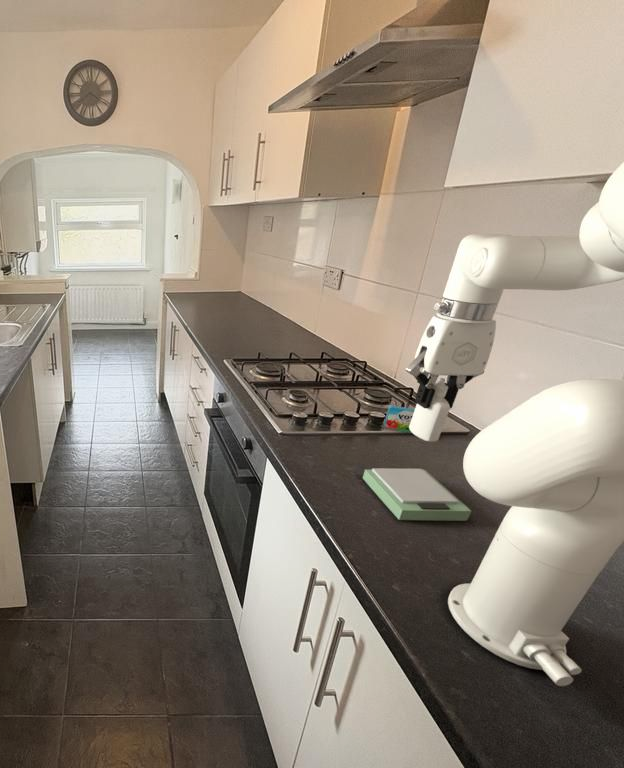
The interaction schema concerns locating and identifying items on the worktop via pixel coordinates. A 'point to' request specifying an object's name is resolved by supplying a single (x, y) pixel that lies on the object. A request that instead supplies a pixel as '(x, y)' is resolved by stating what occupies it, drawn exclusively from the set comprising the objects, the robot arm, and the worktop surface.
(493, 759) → the worktop surface
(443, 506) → the scale
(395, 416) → the yogurt
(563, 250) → the robot arm
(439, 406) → the eye dropper bottle
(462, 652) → the worktop surface
